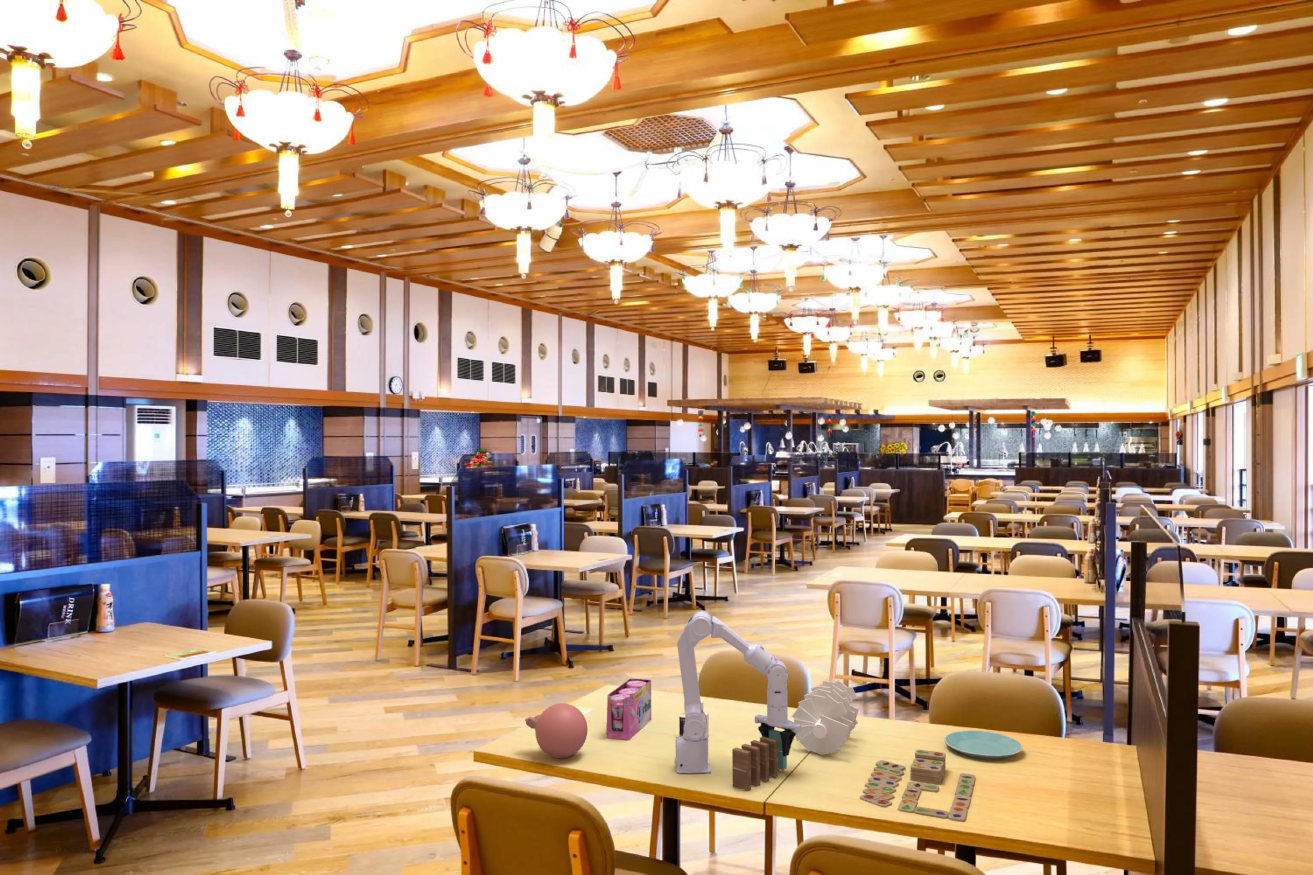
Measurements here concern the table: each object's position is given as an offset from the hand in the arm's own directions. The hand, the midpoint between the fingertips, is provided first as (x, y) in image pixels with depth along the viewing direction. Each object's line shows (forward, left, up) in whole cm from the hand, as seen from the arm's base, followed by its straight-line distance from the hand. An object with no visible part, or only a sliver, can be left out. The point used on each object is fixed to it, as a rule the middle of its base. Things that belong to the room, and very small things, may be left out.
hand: (777, 753), depth 243 cm
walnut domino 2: (-9, -9, -5) cm, 14 cm away
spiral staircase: (+19, +21, -5) cm, 29 cm away
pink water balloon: (-64, +16, -5) cm, 66 cm away
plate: (+65, +14, -5) cm, 67 cm away
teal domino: (0, 0, -4) cm, 4 cm away
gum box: (-41, +40, -5) cm, 58 cm away
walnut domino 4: (-3, -3, -5) cm, 7 cm away
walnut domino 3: (-6, -6, -5) cm, 10 cm away
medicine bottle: (-21, +31, -5) cm, 38 cm away
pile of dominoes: (+35, -15, -6) cm, 38 cm away
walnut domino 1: (-12, -12, -5) cm, 18 cm away
